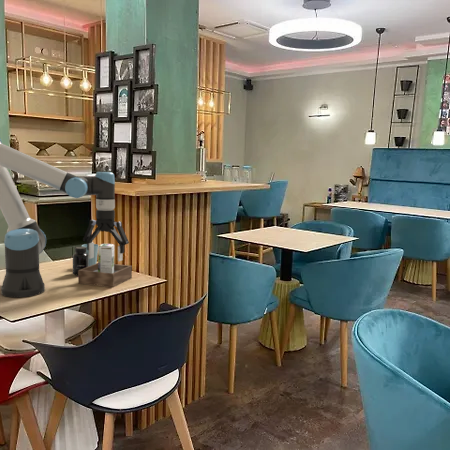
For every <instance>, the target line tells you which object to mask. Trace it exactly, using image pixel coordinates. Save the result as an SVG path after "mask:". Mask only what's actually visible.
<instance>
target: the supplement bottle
mask: <svg viewBox="0 0 450 450" xmlns="http://www.w3.org/2000/svg"><path fill="white" fill-rule="evenodd" d="M74 252H75V253H74V254H73V255H72V274H73V275H74V276H78V270H81V269H83V268H86V267H89V255H88V254H87V253H86V252H87V251H86V247H82V246H77V247H75V248H74Z"/></svg>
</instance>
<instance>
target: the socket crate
mask: <svg viewBox="0 0 450 450" xmlns="http://www.w3.org/2000/svg"><path fill="white" fill-rule="evenodd" d="M132 270H133V267H132V265H129V264H128V265H125V264H118V263H117V264H116V263H114V273H103V272H98V262H97V263H96V264H94V265H91V266H89V267H86V268H83V269H81V270H78V275H77V278H78V282H77V283H78V284H80V285H87V286H88V285H89V286H90V285H91V286H97V287H98V286H99V287H105V288H115V287H117V286H119V285H121V284H122V283H123V284H124V283H125V282H127V281H128V280H129V281H130V280H131V279H132V278H133V277H132V276H133V273H132Z"/></svg>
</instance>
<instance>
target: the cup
mask: <svg viewBox="0 0 450 450" xmlns="http://www.w3.org/2000/svg"><path fill="white" fill-rule="evenodd" d="M81 247H86V251H87V252H86V253H87V254H88V255H89V250H87V243H84V244H82V245H81ZM98 247H99V244H97V243H96V244H95V243H94V258H91V259H89V266H91V265H94V264H97V263H98Z"/></svg>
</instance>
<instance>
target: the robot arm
mask: <svg viewBox="0 0 450 450" xmlns="http://www.w3.org/2000/svg"><path fill="white" fill-rule="evenodd" d="M9 170H10V171H13V172H15V173H17V174H20V175H22V176H24V177H27V178H30V179H32V180H34V181H36V182H38V183H40V184H43V185H45V186H48V187H51V188H53V189H55V190H58V191H60V192H62V193H64V194H65V195H68V196H69V197H71V198H73V199H80V198H83V197H84V196H88V195H89V196H95V208H96V211H95V218H96V220H95V219H89V223H88V227H87V228H86V229H87V230H86V231H85V234H84V235H83V238H82V241H83V242H86V244H87V250H89V259H91V258H94V244H95V242H94V240H95V239H96V238H97V236H98V235H99V234H100V232H102V233H103V232H106V233H110V234H111V236H112V237H113V238H114V239H115V240H116V242H117V243H118V245H117V262H121V261H123V260H124V259H123V257H124V256H123V254H125V246H126V245H129V243H130V242H129V239H128V237H127V234H126V233H125V230H124V228H123V223H122V221H115V217H116V212H115V211H116V210H114V209H115V208H116V200H115V198H116V197H115V194H116V189H115V188H116V181H115V174H114V173H113V172H111V171H96V173H95V176H81V175H80V176H79V175H74V174H72V173H70V172H67V171H65V170H63V169H60V168H58V167H56V166H54V165H51V164H49V163H47V162H45V161H42V160H40V159H38V158H36V157H34V156H31V155H29V154H27V153H24V152H22V151H20V150H18V149H15V148H13V147H11V146H8V145H7V144H4V143H3V141H2V139H1V138H0V211H1V213H2V215H3V217H4V220H5V222H6V223H7V230H6V233H5V234H4V240H3V244H4V257H5V258H4V261H5V274H4V278H3V281H2V285H1V287H0V289H1V291H0V292H1V296H4V297H7V298H8V297H9V298H27V297H33V296H37V295H41V294H43V293H44V292H45V291H46V289H45V288H46V287H45V286H46V285H45V283H44V281H43V277H42V274H41V272H40V254H42V252H43V251H44V250H45V247H46V246H47V245H46V244H47V237H46V234H45V232H44V231H43V230H42V229H41V228H40V226H39V224H38V222H37V220H35V219H33V218H31V217H30V215H29V213H28V210H27V208H26V206H25V204H24V202H23V199H22V197H21V196H20V193H19V191H18V189H17V186H16V184H15V182H14V180H13V178H12V176H11V173H10V172H9ZM95 226H96V228H95ZM115 227H116V228H115ZM94 228H95V229H94Z"/></svg>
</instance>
